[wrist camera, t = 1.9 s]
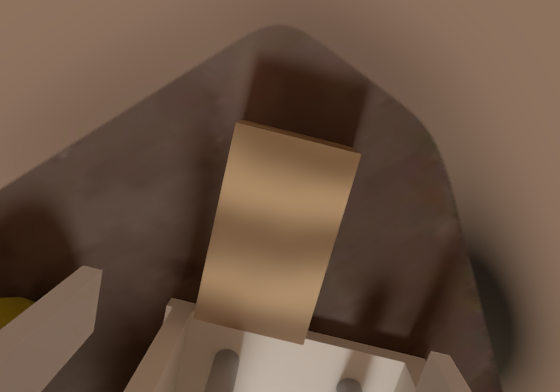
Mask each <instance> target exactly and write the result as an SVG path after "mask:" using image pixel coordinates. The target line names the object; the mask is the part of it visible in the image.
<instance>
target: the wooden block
mask: <svg viewBox="0 0 560 392" xmlns="http://www.w3.org/2000/svg"><path fill="white" fill-rule="evenodd" d="M360 157H361V153H359V152H358V151H357V150H355V149H354V148H353V147H350V146H346V145H342V144H338V143H334V142H330V141H326V140H322V139H318V138H314V137H311V136H307V135H303V134H299V133H295V132H291V131H287V130H283V129H279V128H275V127H272V126H268V125H264V124H260V123H256V122H252V121H248V120H244V119H243V120H240V121H237V122H236V124H235V128H234V133H233V137H232V142H231V147H230V151H229V156H228V160H227V165H226V169H225V174H224V179H223V183H222V188H221V192H220V197H219V202H218V206H217V211H216V215H215V220H214V224H213V229H212V234H211V238H210V243H209V247H208V252H207V257H206V261H205V266H204V270H203V275H202V280H201V284H200V289H199V293H198V298H197V302H196V307H195V312H194V316H193V319H196V320H200V321H204V322H208V323H213V324H217V325H221V326H225V327H229V328H233V329H238V330H242V331H246V332H250V333H254V334H258V335H263V336H267V337H271V338H275V339H279V340H283V341H288V342H292V343H296V344H300V345H304V341H305V338H306V335H307V331H308V328H309V325H310V322H311V318H312V315H313V312H314V308H315V305H316V302H317V299H318V295H319V292H320V289H321V285H322V282H323V279H324V276H325V272H326V269H327V266H328V262H329V259H330V256H331V253H332V249H333V246H334V243H335V239H336V236H337V233H338V230H339V226H340V223H341V220H342V216H343V213H344V210H345V207H346V203H347V200H348V197H349V193H350V190H351V187H352V184H353V180H354V177H355V174H356V170H357V167H358V164H359V161H360Z"/></svg>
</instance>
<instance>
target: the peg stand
mask: <svg viewBox="0 0 560 392" xmlns="http://www.w3.org/2000/svg"><path fill="white" fill-rule="evenodd" d="M195 307H196V303H192V302H188V301H184V300H179V299H175V298H171V299H170V301H169V302H168V304H167V306H166V311H165V316H164V321H163V325H162V326H161V328H160V330H159V332H158V333H157V335H156V337H155V338H154V340H153V342H152V344H151V345H150V347H149V349H148V350H147V352H146V354H145V356H144V357H143V359H142V361H141V362H140V364H139V366H138V368H137V369H136V371H135V373H134V374H133V376H132V378H131V379H130V381H129V383H128V385H127V386H126V388H125V390H124V391H123V392H414V391H415V389H416V387H417V384H418V382H419V379H420V377H421V374H422V372H423V369H424V367H425V364H426V361H425V359H424V358H420V357H416V356H412V355H408V354H404V353H399V352H395V351H391V350H387V349H383V348H379V347H374V346H370V345H366V344H362V343H358V342H354V341H350V340H345V339H341V338H337V337H333V336H329V335H325V334H321V333H316V332H312V331H307V335H306V338H305V341H304V345H300V344H296V343H292V342H288V341H283V340H279V339H275V338H271V337H267V336H263V335H258V334H254V333H250V332H246V331H242V330H238V329H233V328H229V327H225V326H221V325H217V324H213V323H208V322H204V321H200V320H196V319H193V316H194V312H195Z"/></svg>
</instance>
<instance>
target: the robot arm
mask: <svg viewBox="0 0 560 392" xmlns="http://www.w3.org/2000/svg"><path fill="white" fill-rule="evenodd" d="M101 277H102V270H99V269H95V268H91V267H87V266H82V267H80V268H79V269H78V270H76V271H75V272H74V273H73V274H71V275H70V276H69V277H67V278H66V279H65V280H64V281H62V282H61V283H60V284H58V285H57V286H56V287H55V288H53V289H52V290H51V291H49V292H48V293H47V294H46V295H44V296H43V297H42V298H40V299H39V300H38V301H37V302H35V303H34V304H33V305H31V306H30V307H29V308H28V309H26V310H25V311H24V312H22V313H21V314H20V315H19V316H17V317H16V318H15V319H14V320H12V321H11V322H10V323H8V324H7V325H6V326H5V327H3V328H2V329H0V392H41V391H42V390H43V389H44V388H45V387H46V385H47V384H48V383H49V382H50V381H51V380H52V379H53V377H54V376H55V375H56V374H57V373H58V372H59V371H60V369H61V368H62V367H63V366H64V365H65V364H66V363H67V361H68V360H69V359H70V358H71V357H72V356H73V355H74V353H75V352H76V351H77V350H78V349H79V348H80V346H81V345H82V344H83V343H84V342H85V341H86V340H87V338H88V337H89V336H90V335H91V334H92V333H93V332H94V325H95V318H96V311H97V304H98V298H99V291H100V284H101ZM414 392H471V390H470V388H469V387H468V385H467V383H466V382H465V380H464V378H463V377H462V375H461V373H460V372H459V370H458V368H457V367H456V365H455V363H454V362H453V360H452V359H451V357H450V355H446V354H442V353H438V352H434V351H431V352H430V354H429V357H428V359H427V362H426V364H425V367H424V369H423V372H422V374H421V377H420V379H419V382H418V384H417V387H416V389H415V391H414Z"/></svg>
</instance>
